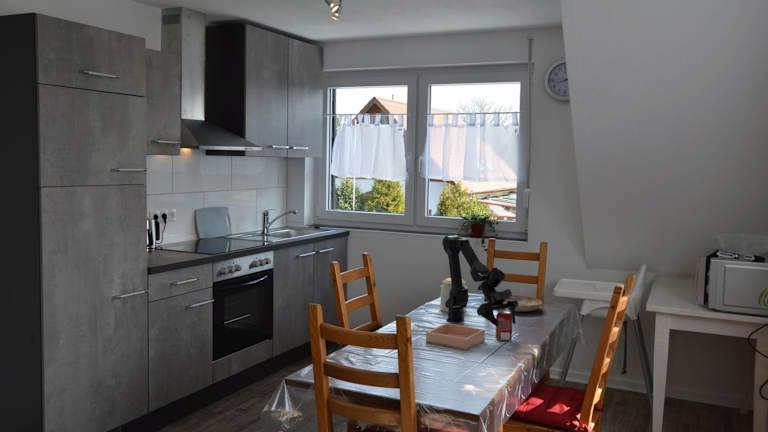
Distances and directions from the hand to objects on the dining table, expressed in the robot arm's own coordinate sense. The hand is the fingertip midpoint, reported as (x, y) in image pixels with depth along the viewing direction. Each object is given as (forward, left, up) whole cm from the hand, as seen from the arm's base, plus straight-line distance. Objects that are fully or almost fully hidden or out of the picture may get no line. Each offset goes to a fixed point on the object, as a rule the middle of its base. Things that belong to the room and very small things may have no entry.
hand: (506, 324), depth 286 cm
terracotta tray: (-16, -14, -7) cm, 23 cm away
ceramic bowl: (-16, +57, -7) cm, 59 cm away
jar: (-41, +35, -7) cm, 54 cm away
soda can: (-1, +1, -7) cm, 7 cm away
